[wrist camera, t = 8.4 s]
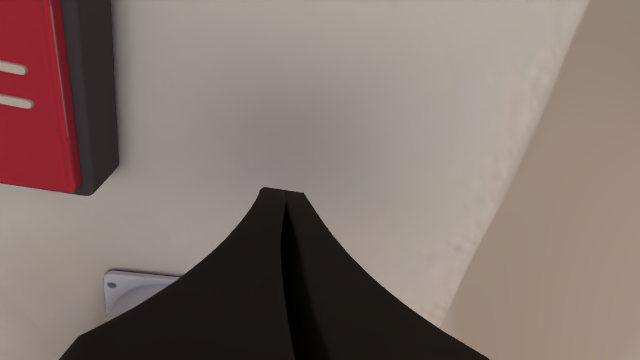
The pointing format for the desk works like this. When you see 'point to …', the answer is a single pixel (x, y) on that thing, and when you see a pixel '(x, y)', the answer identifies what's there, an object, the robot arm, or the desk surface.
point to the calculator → (57, 95)
